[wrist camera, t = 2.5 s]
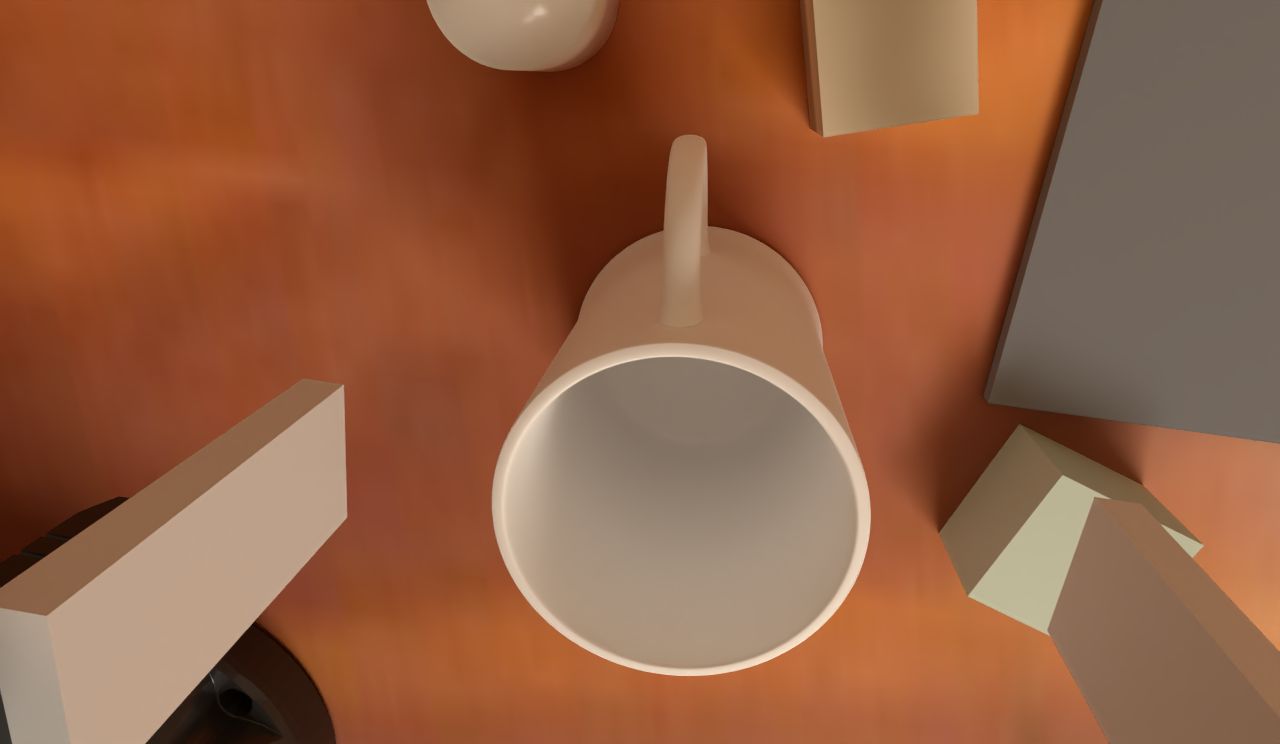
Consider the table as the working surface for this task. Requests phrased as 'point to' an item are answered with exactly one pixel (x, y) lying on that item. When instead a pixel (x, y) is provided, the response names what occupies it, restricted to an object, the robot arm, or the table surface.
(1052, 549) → the sage block
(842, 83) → the maple block
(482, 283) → the table surface
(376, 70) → the table surface
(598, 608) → the mug
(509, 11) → the beige rounded block
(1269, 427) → the coaster
